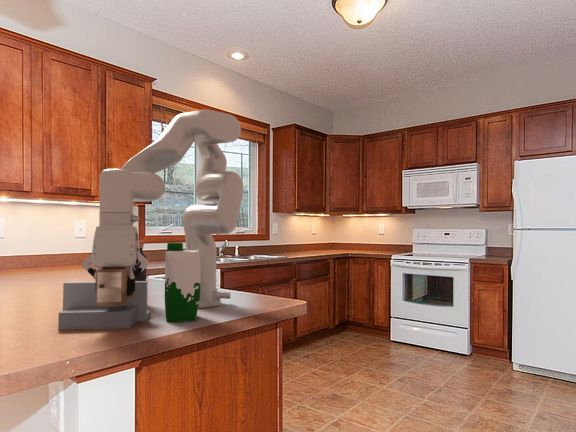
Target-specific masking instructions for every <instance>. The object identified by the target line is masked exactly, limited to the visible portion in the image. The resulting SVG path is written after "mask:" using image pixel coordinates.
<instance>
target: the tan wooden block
mask: <svg viewBox="0 0 576 432" xmlns="http://www.w3.org/2000/svg"><path fill="white" fill-rule="evenodd" d="M96 270H97V269H96ZM128 279H129V275H128V273H127V269H126V268H104V269H100V270H97V271H96V280H95V282H96V306H107V305H124V304H125V303H127V302H128V301H130V300H131V299H132V298H133V294H132V295H131V296H128V295H127V280H128Z"/></svg>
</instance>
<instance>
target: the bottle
mask: <svg viewBox="0 0 576 432" xmlns="http://www.w3.org/2000/svg"><path fill="white" fill-rule="evenodd" d="M144 245H145V241H144V240H139V250H140V254H141V255H142V256H143V257H145V258H146V259H147V255H145V253H143V250H144V248H145V247H144ZM140 265H141V262H139V264H137V265H135V266H134V268H135V270H136V269H137V268H138V267H139V266H140ZM135 281H147V267H146V268H145V269H144V270H143V271H142V272H141V273H140V274H139V275H138V276H137V277H136V278H135Z"/></svg>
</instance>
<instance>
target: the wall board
mask: <svg viewBox="0 0 576 432" xmlns="http://www.w3.org/2000/svg"><path fill="white" fill-rule="evenodd" d="M95 283H96V281H66V282H65V281H64V282H63V284H62V286H63V287H62V290H63V291H62V292H63V293H62V311H60V312H58V323H57V324H58V325H57V326H58V327H57V328H58V329H57V330H58V331H69V330H70V329H71V330H72V331H73V330H74V329H77V330H78V329H82V330H113V329H115V330H116V329H117V330H118V329H131V328H132V327H133V326H134V325H135V324H137V322H147V320H149V318H150V317H151V310H148V283H149V282H148V281H147V280H146V281H135V292H133V298H132V299H131V300H130V301H128V302H127V303H125V304H124V305H107V306H96V292H95ZM71 330H70V331H71ZM77 330H76V331H77ZM78 331H79V330H78Z"/></svg>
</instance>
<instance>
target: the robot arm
mask: <svg viewBox="0 0 576 432" xmlns="http://www.w3.org/2000/svg"><path fill="white" fill-rule="evenodd" d="M241 131H242V128H241V123H240V121H239V120H238V118H236V117H235V116H234V115H232V114H230V113H225V112H222V111H221V112H220V111H216V110H210V109H197V110H192V111H186V112H182V113H179V114H177V115H175V116H174V118H173V119H172V120H171V122H170V123H169V124H168V125H167V126H166V128H165V129H164V130H163V131H162V133H161V134H160V135H159V136H158V138H157V139H156V140H155V141H154V142H153V143H151V144H150V145H148V146H147V147H145V148H143V150H141V151H140V152H138V153H137V154H135V155H134V156H132V157H131V158H130V159H129V160H127V162H126V163H124V165H123V166H122V167H121V168H107V169H103V170H102V171H101V172H100V174H99V175H100V176H99V223H98V225H99V226H96V228H95V231H94V236H93V243H92V249H91V254H90V255H89V256H88V257H87V258H86V259H84V260H83V261H82V262H81V264H80V265H81V267H82V268H83V269H85V271H87V273H88V274H89V275H90V276H91V277H92V278H93V280H95V281H96V271H97V270H100V269H104V268H126V269H127V273H128V275H129V279H128V280H127V295H128V296H131V295H132V294H133V292H135V278H136V277H137V276H138V275H139V274H140V273H141V272H142V271H143V270H144V269H145V268H146V269H147V267H148V266H149V265H150V262H149V260H147V259H146V258H145V257H143V256H142V255H141V254H140V250H139V241H140V240H139V239H140V237H139V230H138V227H137V226H134V224H135V223H136V222H139V221H140V216H139V215H135V213H134V203H137V202H139V203H142V202H145V203H146V202H154V201H157V200H159V199H161V198H162V197H163V195H164V193H165V191H166V185H165V181H164V179H163V178H162V177H161V176H160V175H158V174H156V173H158V172H162V171H163V170H166V169H169V168H170V167H171V168H172V167H174V166H175V165H177V164H179V163H180V162H182V160H183V158H184V157H185V156H186V154H187V152H188V151H189V150H190V148H191V147H192V145H193V144H194V142H195V144H196V146H197V148H198V151H199V154H200V163H199V168H198V172H197V177H196V181H195V186H194V195H195V197H196V198H197V199H198V200H199V201H202V202H206V203H195V204H191V205H190V206H188V207H187V208H186V209H185V210H184V212H183V214H182V225H183V230H184V231H183V232H184V238H185V250H199V257H200V270H201V276H200V302H199V306H198V309H203V308H205V309H206V308H213V307H217V306H220V305H221V304H222V300H221V299H228V300H231V292H228V291H222V292H221V291H218V288H217V253H218V252H217V245H216V241H215V239H214V238H213V236H212V235H228V234H231V233H232V232H234V230H235V228H236V227H237V224H238V219H239V215H240V210H241V204H242V199H243V196H244V185H243V180H242V177H241V176H240V175H239V174H238V173H237V172H235V171H233V170H232V171H231V170H227V165H228V162H227V157H226V155H225V154H224V152H223V150H222V149H221V147H220V146H219V145H220V144H227V143H233V142H236V141H237V140H239V138H240V135H241V134H242V133H241ZM207 202H208V203H207ZM209 202H211V203H209ZM212 202H213V203H212ZM216 202H217V203H216ZM139 262H141V265H140V266H139V267H138V268H137V269H136V270H135V268H134V266H135V265H137V264H139ZM95 292H96V283H95Z"/></svg>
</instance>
